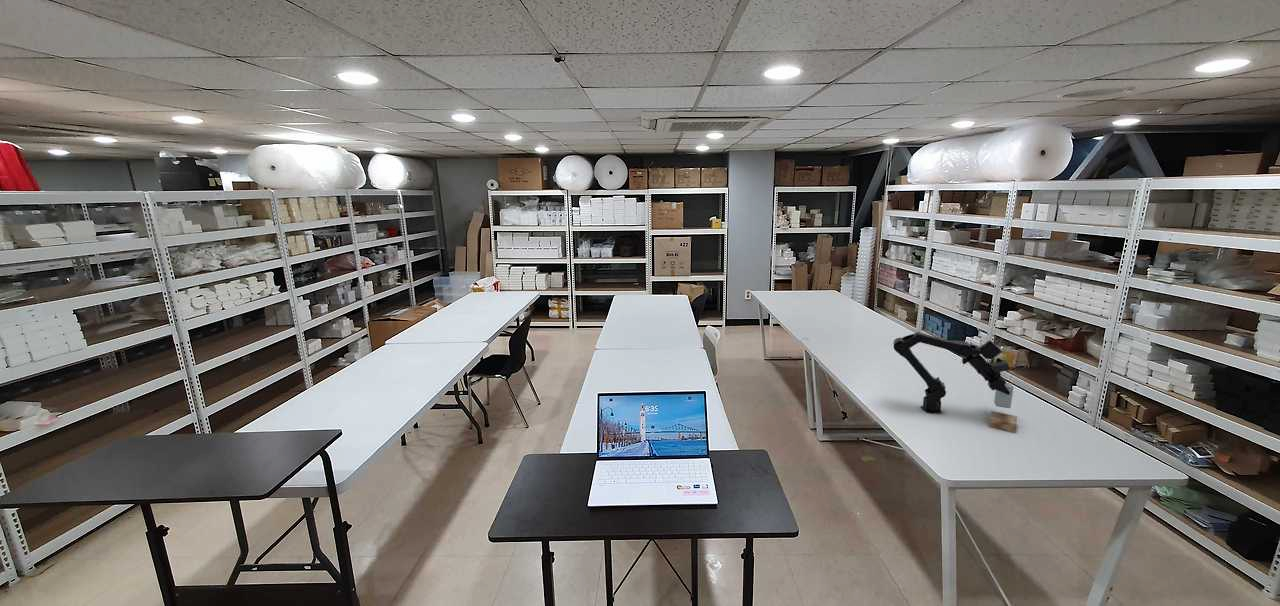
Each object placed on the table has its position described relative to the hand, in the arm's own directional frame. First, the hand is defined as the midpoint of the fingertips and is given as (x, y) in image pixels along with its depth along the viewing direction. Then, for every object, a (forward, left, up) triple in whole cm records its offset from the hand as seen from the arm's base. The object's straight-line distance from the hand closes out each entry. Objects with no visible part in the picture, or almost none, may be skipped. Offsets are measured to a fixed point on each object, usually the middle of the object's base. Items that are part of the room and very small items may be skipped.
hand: (1007, 391), depth 207 cm
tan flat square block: (-5, -5, -13) cm, 15 cm away
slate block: (-1, +1, -7) cm, 7 cm away
